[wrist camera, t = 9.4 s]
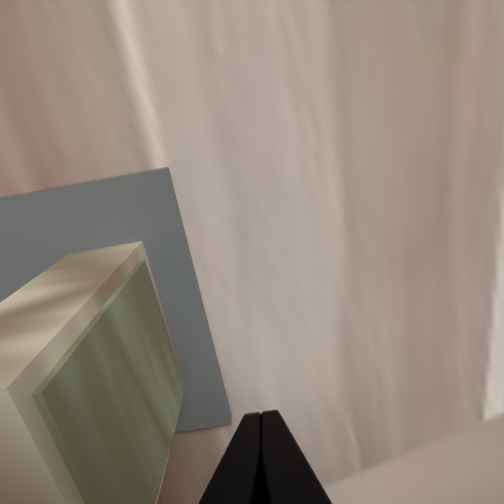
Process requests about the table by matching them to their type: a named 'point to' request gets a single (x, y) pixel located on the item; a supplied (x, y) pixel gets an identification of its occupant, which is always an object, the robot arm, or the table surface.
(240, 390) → the table surface
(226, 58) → the table surface
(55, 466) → the beech board
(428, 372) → the table surface
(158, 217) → the slate mat
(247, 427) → the robot arm
